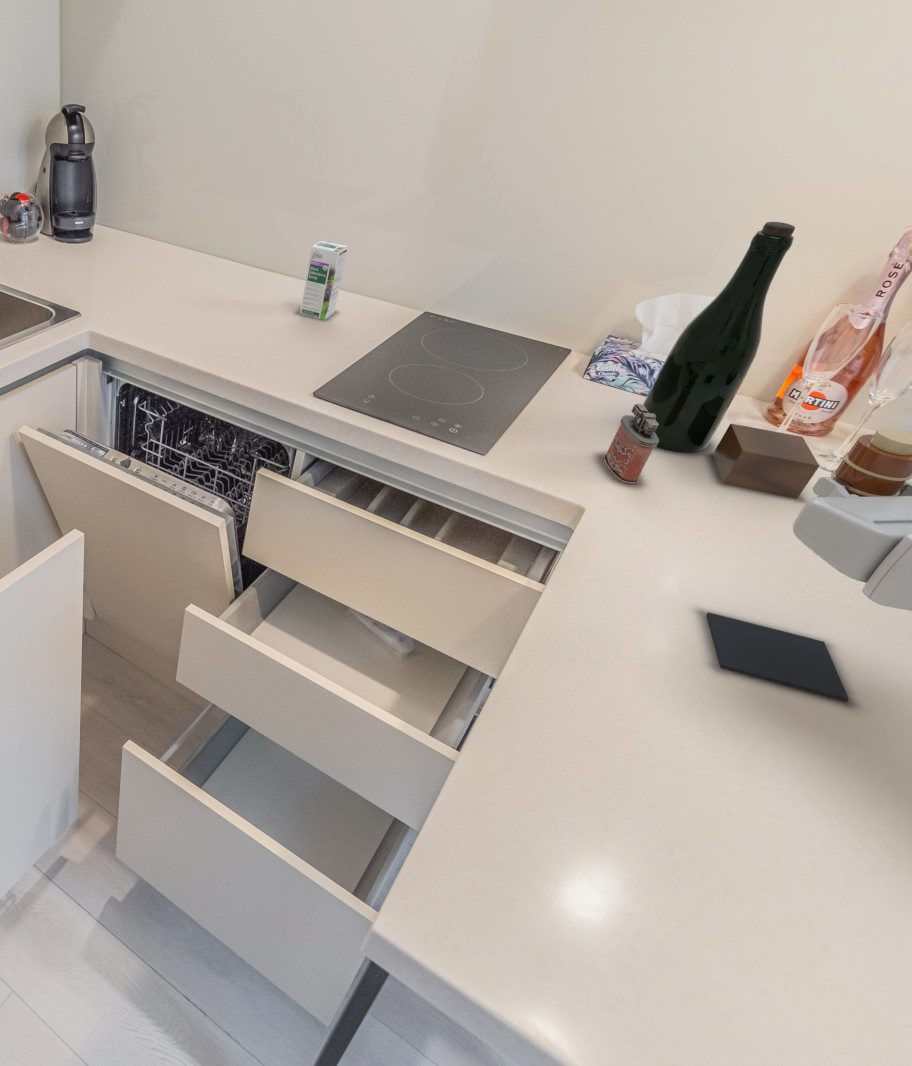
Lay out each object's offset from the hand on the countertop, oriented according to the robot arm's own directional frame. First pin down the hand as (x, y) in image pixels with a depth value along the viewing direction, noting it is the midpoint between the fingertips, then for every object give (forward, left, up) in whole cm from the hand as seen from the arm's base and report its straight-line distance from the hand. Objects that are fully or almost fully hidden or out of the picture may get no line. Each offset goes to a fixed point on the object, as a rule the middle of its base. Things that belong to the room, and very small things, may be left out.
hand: (853, 482), depth 74 cm
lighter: (+11, -32, -20) cm, 39 cm away
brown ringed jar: (0, +1, -5) cm, 6 cm away
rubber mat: (-1, +4, -20) cm, 20 cm away
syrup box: (+65, -75, -20) cm, 101 cm away
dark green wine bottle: (+3, -47, -20) cm, 51 cm away
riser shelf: (-7, -39, -20) cm, 44 cm away
